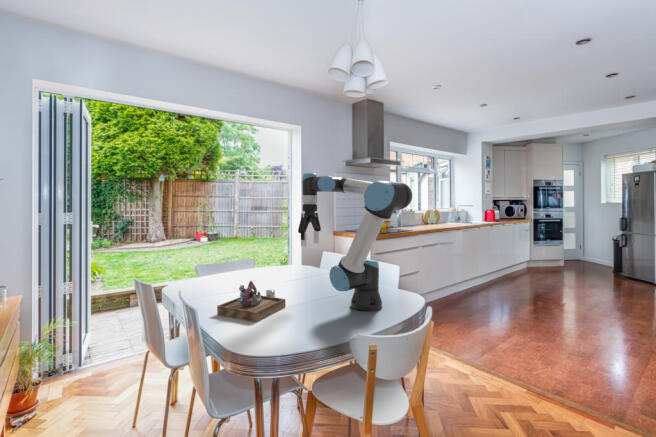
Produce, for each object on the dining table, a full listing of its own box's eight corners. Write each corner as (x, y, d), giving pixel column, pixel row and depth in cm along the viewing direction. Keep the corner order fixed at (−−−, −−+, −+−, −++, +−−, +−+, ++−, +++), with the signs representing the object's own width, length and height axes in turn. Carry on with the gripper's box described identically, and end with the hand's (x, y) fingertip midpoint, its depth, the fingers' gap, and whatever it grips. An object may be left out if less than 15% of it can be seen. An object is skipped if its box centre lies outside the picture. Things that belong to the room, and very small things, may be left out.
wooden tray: (285, 307, 156) (285, 299, 156) (256, 322, 136) (256, 312, 136) (249, 301, 165) (248, 293, 165) (217, 314, 145) (217, 305, 145)
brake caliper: (258, 303, 144) (243, 281, 145) (241, 316, 146) (226, 294, 148) (269, 296, 155) (255, 276, 156) (252, 308, 157) (239, 288, 159)
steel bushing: (273, 299, 170) (273, 289, 170) (275, 300, 166) (275, 290, 166) (265, 299, 168) (264, 290, 168) (267, 301, 164) (267, 291, 164)
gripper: (314, 203, 179) (314, 241, 180) (290, 203, 156) (291, 247, 157) (326, 203, 176) (327, 242, 177) (304, 203, 153) (304, 248, 154)
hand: (310, 244), depth 167 cm, fingers open, 13 cm apart
